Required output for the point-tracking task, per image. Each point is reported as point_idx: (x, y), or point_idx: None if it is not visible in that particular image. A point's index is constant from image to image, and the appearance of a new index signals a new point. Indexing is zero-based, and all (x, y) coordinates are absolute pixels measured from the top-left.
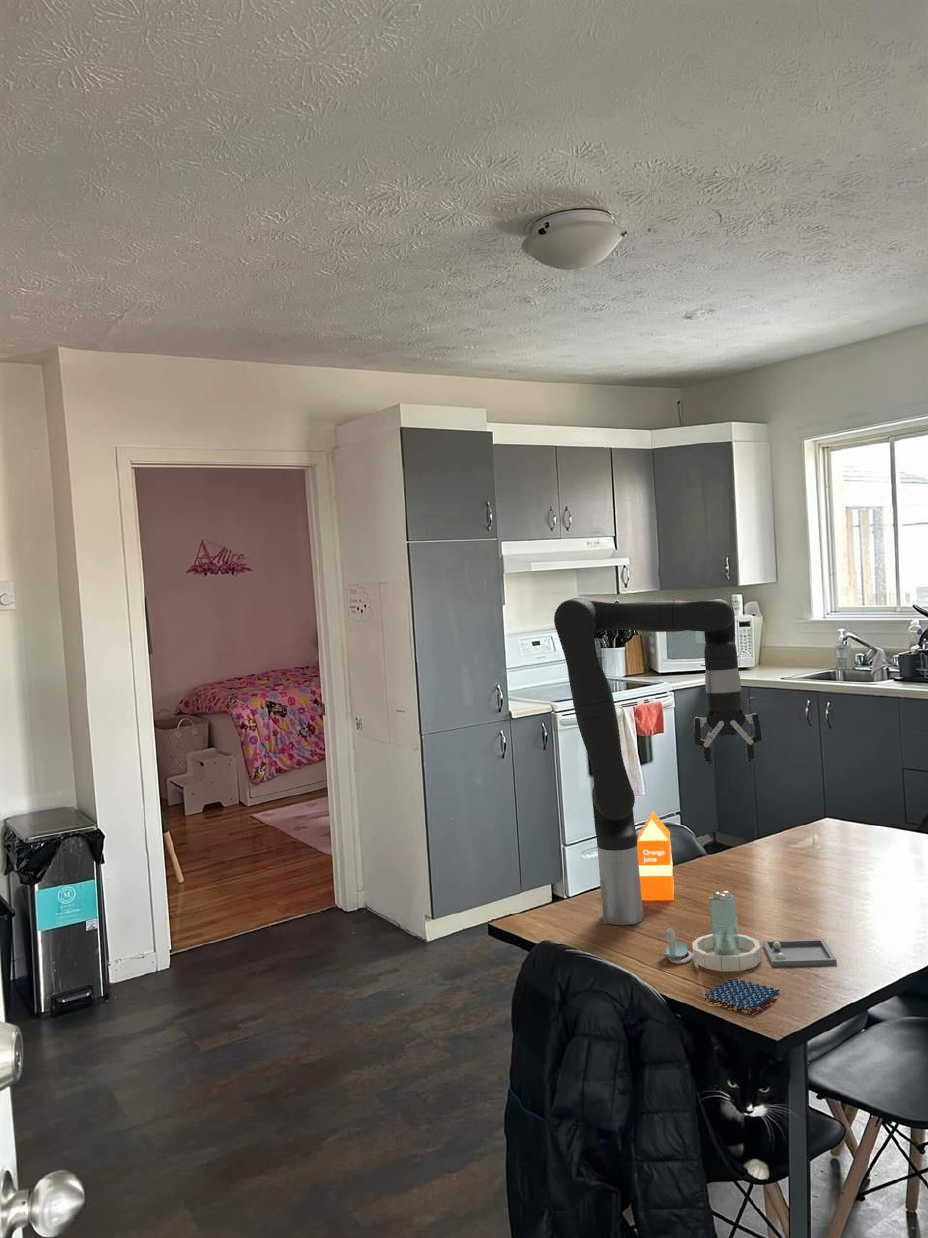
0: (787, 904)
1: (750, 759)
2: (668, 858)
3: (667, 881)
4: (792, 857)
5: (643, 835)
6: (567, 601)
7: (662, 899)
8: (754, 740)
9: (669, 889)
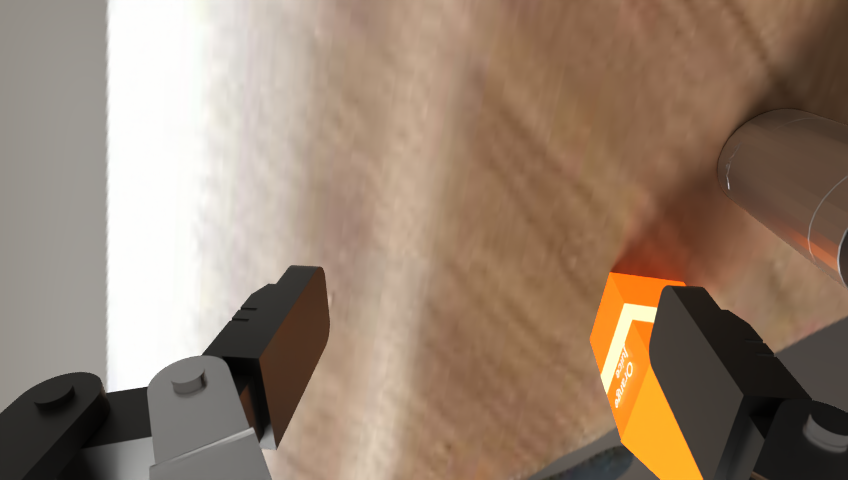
0: (364, 207)
1: (293, 269)
2: (641, 330)
3: (631, 297)
4: (321, 459)
5: None
6: None
7: (635, 276)
8: (136, 408)
9: (623, 286)
